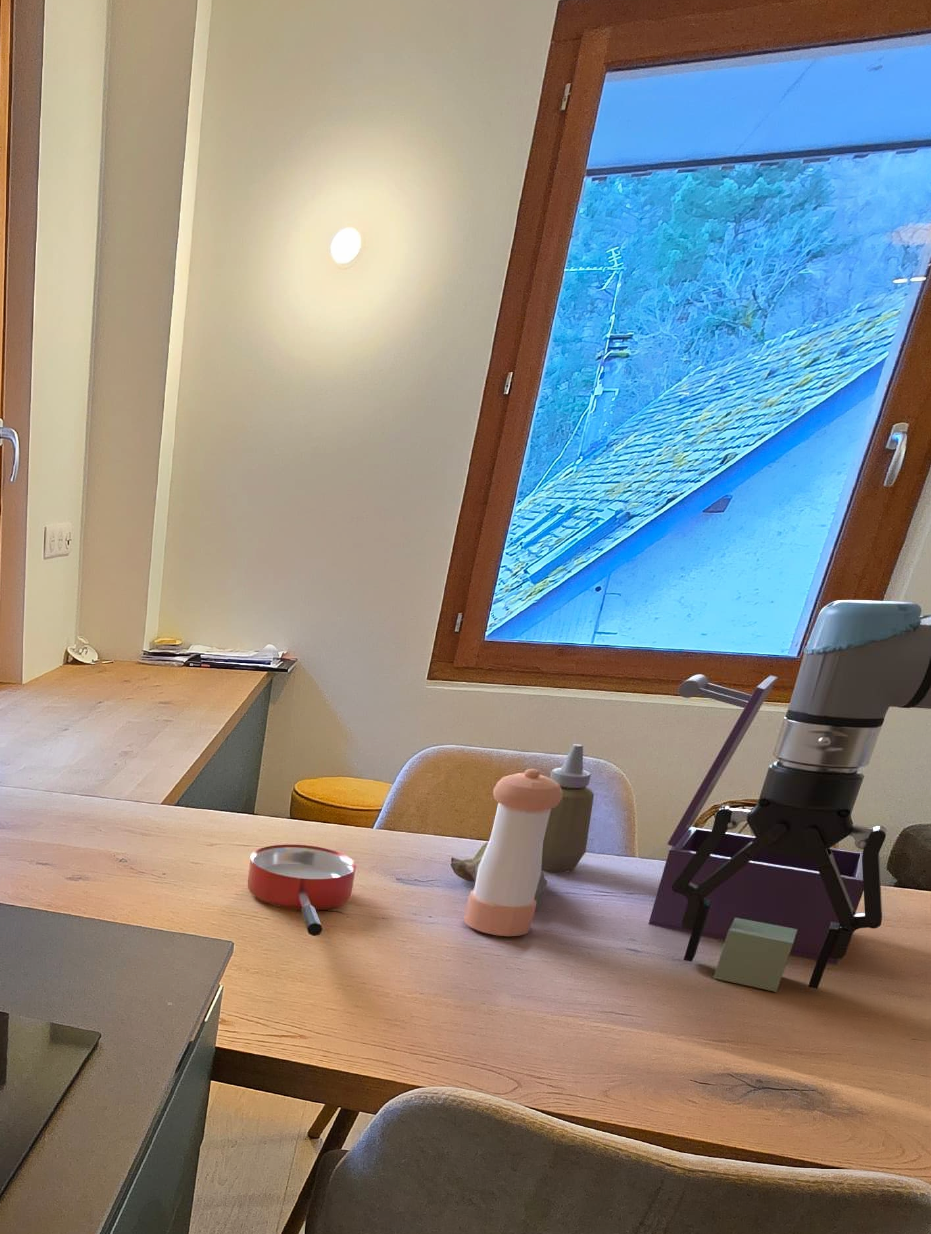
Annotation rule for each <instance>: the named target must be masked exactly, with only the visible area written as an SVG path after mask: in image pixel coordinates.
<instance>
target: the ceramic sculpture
mask: <svg viewBox="0 0 931 1234" xmlns="http://www.w3.org/2000/svg"><path fill="white" fill-rule="evenodd" d="M488 842H489V841H487V842H485V843H484V844H482V846H481V847H480V848H479V850H478V851H477V852H476V854H475V855H474V856H473V858H469V859H468V858H466V859H459V858H456V857H451V859H450V862H451V863H450V866H451V869H452V871H453V872H454V874H455V875H456V876H457V877H458V878H460V879H462V880H464V881H467V882H472V883H475V882H476V877H477V871H478V867H479V864H480V862H481V859H482V857H483V854H484V852H485V849H486V847H487V845H488ZM547 884H548V880H547V879H546V877H545V873H544V871H542V869H541V875H540V879H539V882H538V886H537V889H536V893H535V896H534V899H535V901H536V902H537V901H538V900H539V899H540V898H541V896H542V895H543V893H544V891H545V889H546V887H547Z"/></svg>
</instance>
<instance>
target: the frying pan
mask: <svg viewBox="0 0 931 1234" xmlns="http://www.w3.org/2000/svg"><path fill="white" fill-rule="evenodd" d="M248 868H249V869H248V876H247V888H248V890H249V892H250V893H251V894H252V895H253V896H254V897H256V898H257V897H258V899H259V900H261V901H263V902H265V901H266V903H268V904H271V905H273V906H277V905H278V906H277V907H282V908H287V909H294V910H300V912H301V915H302V918H303V922H304V924H305V928H306V930H307V933H308V935H310V936H312V937H317V936H320V935H321V934H322V932H323V931H324V928H323V926H322V923H321V921H320V918H319V915H318V913H317V911H318V910H327V909H333V908H336V907H339V906H341V905H343V904H345V903H346V902H348V901H349V899H351V897H352V893H353V887H354V882H355V874H356V869H357V864H356V862H355V861H354V860H353V859H352V858H351V857H349V856H348V855H346V854H344V853H341V852H338V851H336V850H333V849H328V848H325V847H319V846H314V845H306V844H275V845H268V846H264V847H261V848H257V849H256V850H254V851H253V852H252V853H251V855H250V859H249V867H248Z"/></svg>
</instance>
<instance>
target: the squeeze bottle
mask: <svg viewBox="0 0 931 1234" xmlns="http://www.w3.org/2000/svg"><path fill="white" fill-rule="evenodd" d="M591 776H592V774H591V773H590V771H587V770H585V769H584V745H583V744H581V743H573V744H572V746H571V748H570V749H569V751H568V754H567V756H566V758H565V760H564V762H563V764H562V765H561V767H555V768H553V769H551V772H550V776H549V778H550V779H552V780H554V781H556V782H557V783H558V784H559V785H560V787H561V789H562V799H561V801H560V802H559V804H558V805H557V806H556V807H555V808H552V809H551V811H550V815H549V819H548V823H547V828H546V832H545V836H544V840H543V848H542V864H541V869H542V871H543V872H546V873H555V874H556V873H557V874H558V873H559V874H560V873H562V874H563V873H564V874H565V873H569V872H572V871H574V870H575V868H576V867H577V865H578V864H579V862H580V861H581V859H582V858H583V857H584V855H585V854H586V851H587V845H588V839H589V830H590V825H591V817H592V811H593V810H592V809H593V803H594V795H595V794H594V792H593V791H592V790H591V789H590V788H589V787H588V786H589V785H590V781H591Z"/></svg>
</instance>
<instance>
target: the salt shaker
mask: <svg viewBox="0 0 931 1234" xmlns="http://www.w3.org/2000/svg"><path fill="white" fill-rule="evenodd" d="M492 792H493V798H494V800H495V801H496V802H497V803H498V804H497V808H496V812H495V816H494V820H493V825H492V829H491V833H490V837H489V840H488V841H487V842H488V845H487V847H486V849H485V852H484V854H483V857H482V859H481V862H480V864H479V867H478V871H477V877H476V882H474V887H473V889H472V890H471V891H470V892H469V894H468V899H467V904H466V907H465V912H464V918H463V921H464V923H465V924H466V925H467V926H468V927H469V928H471V929H474V930H476V931H478V932H481V933H485V934H488V935H494V936H499V937H518V936H519V937H520V936H523V935H526V934H528V933H530V930H531V927H532V923H533V919H534V915H535V912H536V907H537V901H535V899H534V896H535V893H536V889H537V886H538V882H539V879H540V875H541V864H542V848H543V840H544V836H545V832H546V828H547V823H548V819H549V815H550V811H551V809H552V808H555V807H556V806H557V805H558V804H559V802H560V801H561V799H562V789H561V787H560V785H559V784H558V783H557V782H556V781H554V780H552V779H550V777H548V776H546V775H544V774H543V775H542V774H541V773H540V770H537V769H536V768H528V769H526V770H525V771H524V772H518V773H517V772H516V773H513V774H509V775H506V776H502V777H501V778H500V780H498V781H497V782H496V784H495V786H494V788H493V790H492Z"/></svg>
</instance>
